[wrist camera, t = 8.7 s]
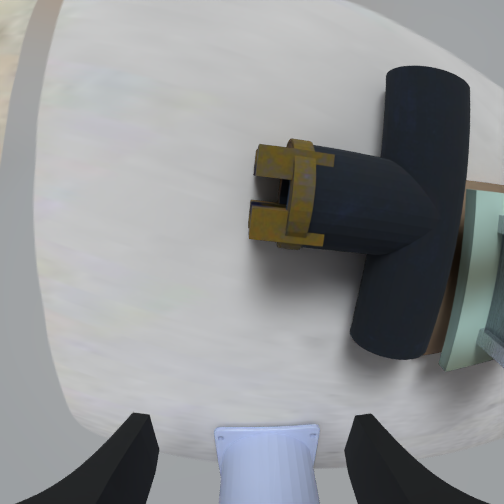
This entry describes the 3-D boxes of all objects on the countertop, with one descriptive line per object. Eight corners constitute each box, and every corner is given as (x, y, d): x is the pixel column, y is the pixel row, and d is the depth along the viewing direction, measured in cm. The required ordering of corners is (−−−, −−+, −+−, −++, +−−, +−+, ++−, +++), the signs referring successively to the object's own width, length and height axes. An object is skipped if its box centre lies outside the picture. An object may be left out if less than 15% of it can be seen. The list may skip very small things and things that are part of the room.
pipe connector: (237, 357, 14) (273, 22, 11) (238, 311, 19) (265, 61, 16) (442, 358, 15) (488, 89, 11) (404, 320, 20) (438, 103, 16)
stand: (510, 329, 20) (537, 349, 16) (412, 349, 20) (437, 379, 16) (533, 190, 17) (567, 196, 13) (433, 177, 17) (470, 180, 13)
